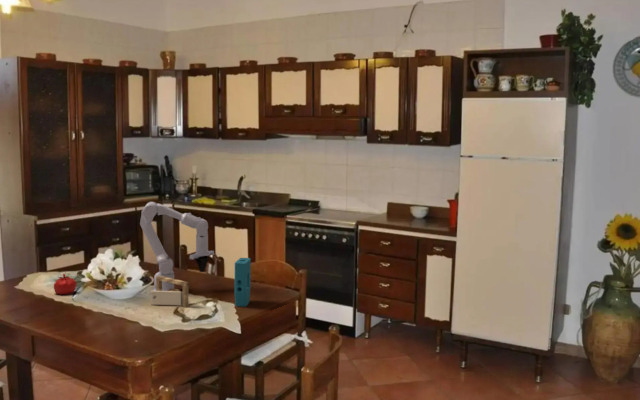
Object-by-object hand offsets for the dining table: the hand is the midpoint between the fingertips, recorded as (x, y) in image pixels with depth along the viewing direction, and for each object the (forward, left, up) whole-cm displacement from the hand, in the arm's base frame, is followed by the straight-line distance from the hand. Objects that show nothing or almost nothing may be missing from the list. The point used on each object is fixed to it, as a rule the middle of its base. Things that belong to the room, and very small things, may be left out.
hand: (202, 271), depth 296 cm
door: (+7, -28, -9) cm, 30 cm away
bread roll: (+4, -23, -10) cm, 25 cm away
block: (+31, -5, -10) cm, 33 cm away
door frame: (+5, -24, -9) cm, 26 cm away
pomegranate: (-46, -44, -10) cm, 64 cm away
